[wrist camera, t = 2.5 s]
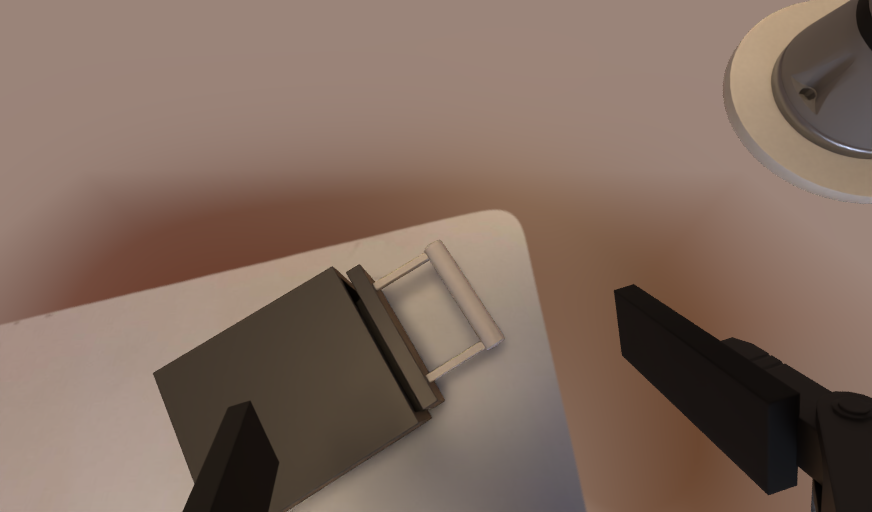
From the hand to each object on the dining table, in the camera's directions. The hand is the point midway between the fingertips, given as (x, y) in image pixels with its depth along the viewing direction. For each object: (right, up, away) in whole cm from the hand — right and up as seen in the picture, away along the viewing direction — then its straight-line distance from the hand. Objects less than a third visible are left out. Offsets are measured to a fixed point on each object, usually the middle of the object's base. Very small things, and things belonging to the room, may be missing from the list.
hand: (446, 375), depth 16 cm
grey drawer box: (-10, -8, +23) cm, 27 cm away
